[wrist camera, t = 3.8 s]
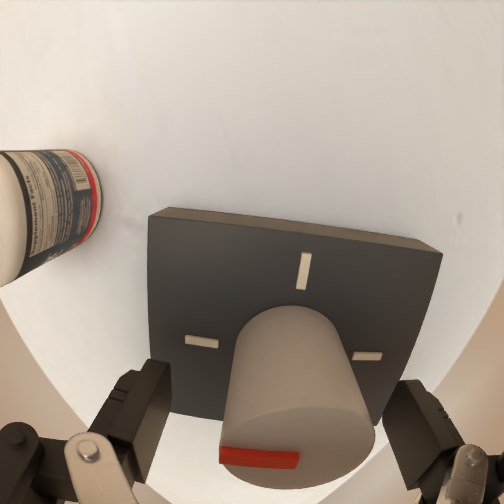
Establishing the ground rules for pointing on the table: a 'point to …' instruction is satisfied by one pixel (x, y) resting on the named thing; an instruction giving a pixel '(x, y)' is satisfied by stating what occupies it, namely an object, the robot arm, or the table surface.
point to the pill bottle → (44, 207)
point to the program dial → (293, 403)
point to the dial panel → (279, 296)
